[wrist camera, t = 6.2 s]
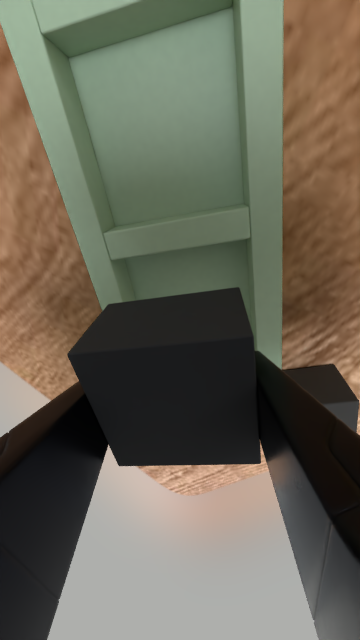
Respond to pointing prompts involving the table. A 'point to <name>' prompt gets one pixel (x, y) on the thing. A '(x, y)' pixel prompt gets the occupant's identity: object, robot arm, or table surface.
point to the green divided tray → (164, 142)
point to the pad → (173, 379)
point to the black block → (329, 391)
